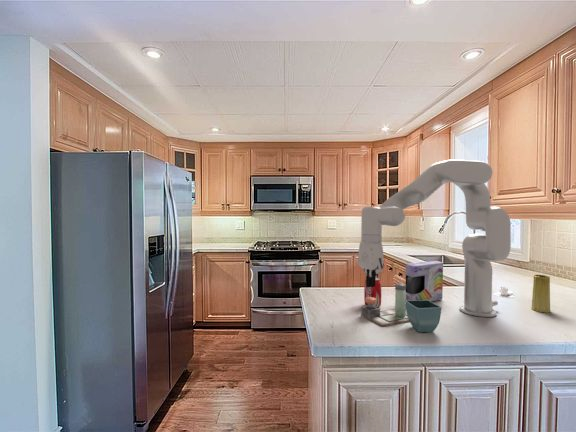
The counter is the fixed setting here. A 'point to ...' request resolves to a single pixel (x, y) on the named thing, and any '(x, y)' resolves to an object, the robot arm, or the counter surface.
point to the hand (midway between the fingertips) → (370, 286)
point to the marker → (400, 300)
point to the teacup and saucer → (504, 292)
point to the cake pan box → (424, 281)
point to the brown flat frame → (382, 316)
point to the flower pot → (423, 315)
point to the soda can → (373, 292)
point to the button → (370, 302)
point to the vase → (541, 294)
